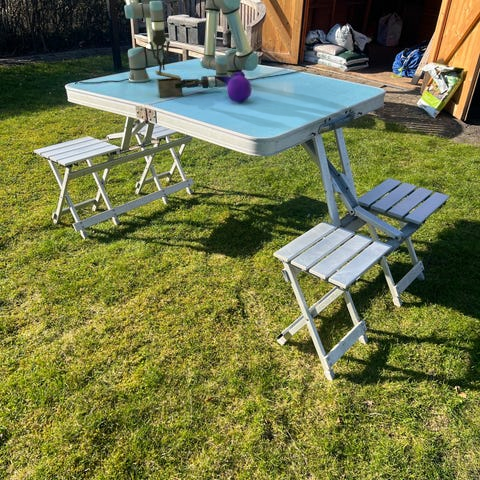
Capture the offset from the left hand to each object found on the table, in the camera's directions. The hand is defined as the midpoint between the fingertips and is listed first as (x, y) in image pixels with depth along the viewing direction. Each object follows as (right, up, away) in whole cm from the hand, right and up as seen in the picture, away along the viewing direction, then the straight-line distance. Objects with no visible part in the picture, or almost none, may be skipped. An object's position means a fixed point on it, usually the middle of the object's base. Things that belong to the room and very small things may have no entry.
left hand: (162, 69), depth 287 cm
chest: (+4, -14, +9) cm, 17 cm away
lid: (+3, -3, +3) cm, 5 cm away
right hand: (+7, -7, +6) cm, 12 cm away
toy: (+47, -21, -6) cm, 52 cm away
